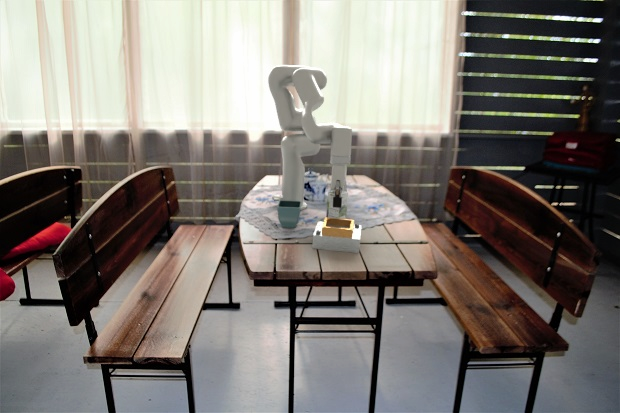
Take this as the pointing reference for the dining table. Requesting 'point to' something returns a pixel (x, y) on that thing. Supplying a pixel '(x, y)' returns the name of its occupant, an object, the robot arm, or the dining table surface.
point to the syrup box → (333, 211)
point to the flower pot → (288, 213)
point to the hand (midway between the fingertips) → (338, 203)
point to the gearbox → (337, 235)
